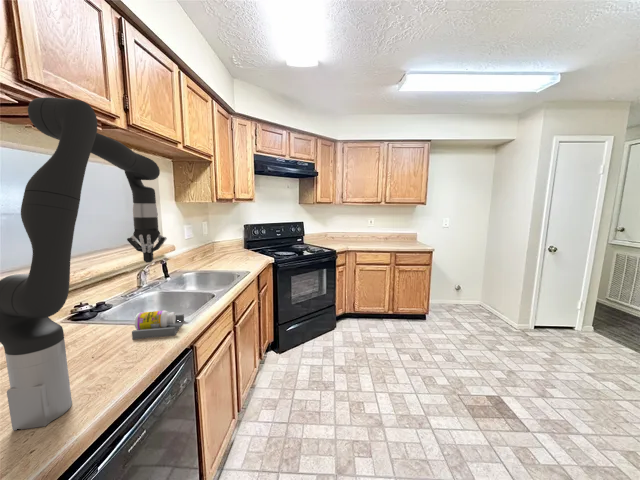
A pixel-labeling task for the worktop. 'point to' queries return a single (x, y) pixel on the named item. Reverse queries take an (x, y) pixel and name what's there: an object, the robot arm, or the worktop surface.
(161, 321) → the supplement bottle
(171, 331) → the cradle tray
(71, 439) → the worktop surface
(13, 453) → the worktop surface
